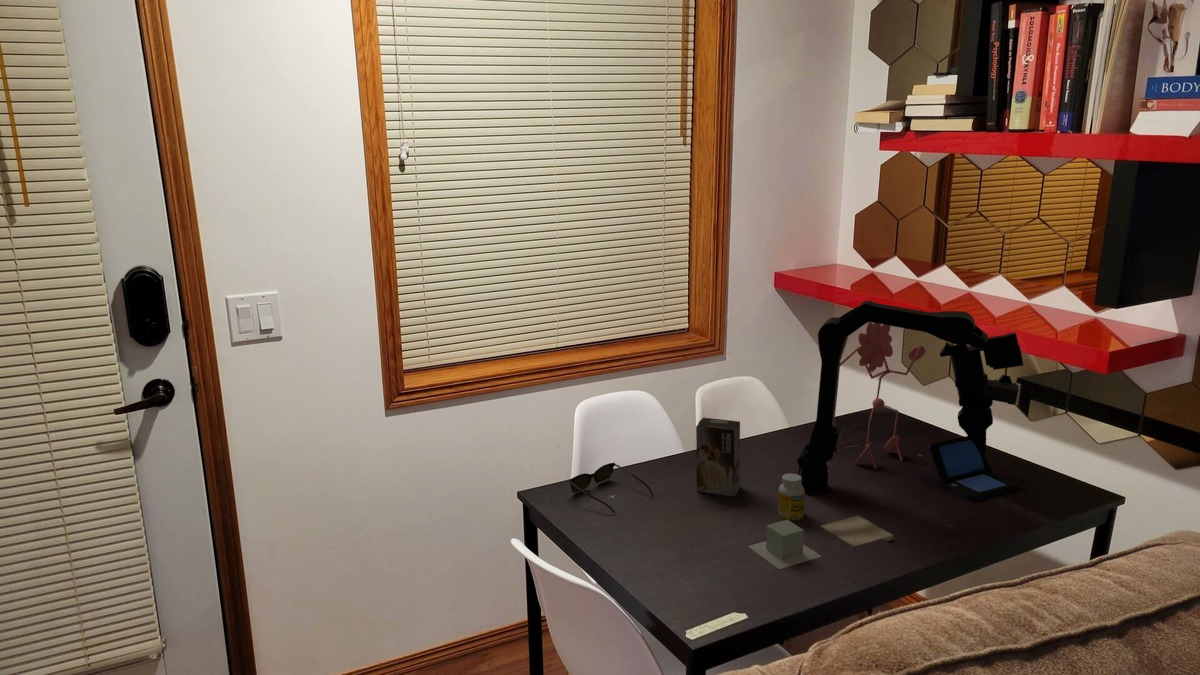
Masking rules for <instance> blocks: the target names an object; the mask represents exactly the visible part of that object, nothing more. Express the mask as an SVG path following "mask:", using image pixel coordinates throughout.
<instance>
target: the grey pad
mask: <svg viewBox="0 0 1200 675" xmlns="http://www.w3.org/2000/svg"><path fill="white" fill-rule="evenodd" d="M747 547H748V548H749V549H750V550H752V551H753V552H755V553H756V554H757V555H759V556H760V557H762V558H763V559H764V560H765V561H767V562H769V563H770V564H772V566H775V568H777V569H778V570H781V569H786V568H789V567H792V566H796V565H798V564H802V563H805V562H808V561H811V560H815V559H818V558H822V557H823V556H822V555H820V554H819V553H817V552H816V551H815V550H813V549H812V548H809V547H808V546H807V545H805V544H804V543H803V554H800V555H797V556H794V557H790V558H787V559H784V560H781V559H780V558H778V557H777V556H775V555H774V554H773V553H771V552H770V551H768V550H767V549H766V540H764V541H762V542H758V543H755V544H751V545H747Z"/></svg>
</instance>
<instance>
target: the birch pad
mask: <svg viewBox="0 0 1200 675" xmlns="http://www.w3.org/2000/svg"><path fill="white" fill-rule="evenodd" d="M820 527H821V528H823V529H824V530H826V531H827V532H829V533H831V534H832V535H834V536H835V537H837V538H839V539H840V540H842V541H844V542H845V543H847V544H848V545H851V546H852V547H854V548H855V547H858V546H861V545H865V544H868V543H872V542H875V541H879V540H883V541H884V542H890V541H892V540H893V539H894V534H892V533H891V532H888V531H887V530H885V529H883V528H881V527H879V526H878V525H876V524H874V523H872V522H871V521H869V520H867V519H866V518H863V517H862V516H860V515H859V514H858V515H854V516H851V517H847V518H846V517H845V518H844V519H840V520H836V521H832V522H829V523H826V524H822V525H821V524H820Z"/></svg>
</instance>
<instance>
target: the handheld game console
mask: <svg viewBox="0 0 1200 675" xmlns="http://www.w3.org/2000/svg"><path fill="white" fill-rule="evenodd" d="M929 452H930V454H931V457H932V461H933V464H934V466H935V471H936V473H937V476H938V479H940V480H939V485H938V486H939V487H940V488H941V489H945V490H947V491H949V492H951V493H953V494H955V495H957V496H959V497H961V498H962V499H965V500H967V501H973V502H975V501H977V500H982V499H986V498H990V497H995V496H998V495H1000V494H1006V493H1009V492H1012V491H1016V490H1018V489H1020V487H1019V486H1020V483H1018V482H1017V481H1015V480H1011V479H1010V478H1007V477H1005V476H1003V475H1000V474H998V473H996V472H994V471H993V469H992V468H991V467H990V463H989V461H988V458H987V457H986V452H982V453H981V452H980V451H979V450H978V449H977V447H976V446H975V444H974V443H973V442H972V440H971V439H970V438H969V436H968V435H965V436H961V437H957V438H951V439H947V440H943V441H938V442H933V443H931V444H930V445H929Z"/></svg>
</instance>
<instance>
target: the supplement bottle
mask: <svg viewBox="0 0 1200 675" xmlns="http://www.w3.org/2000/svg"><path fill="white" fill-rule="evenodd" d="M801 483H802V478H801V476H800V475H799V474H797V473H785V474H783V475H782V476H781V484H780V485H779V486H778V502H777V503H778V508H777V510H778V511H777V512H778V513H777V516H778V517H779V518H781V519H783V520H789V521H799V520H802V519H803V518H804V515H805V494H806V493H805V490H804V487H803V486H802V485H801Z"/></svg>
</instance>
